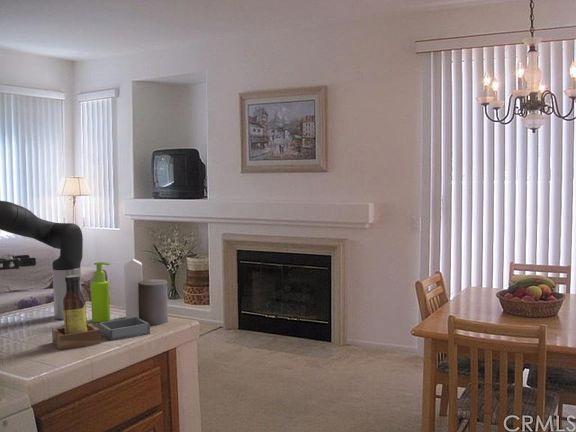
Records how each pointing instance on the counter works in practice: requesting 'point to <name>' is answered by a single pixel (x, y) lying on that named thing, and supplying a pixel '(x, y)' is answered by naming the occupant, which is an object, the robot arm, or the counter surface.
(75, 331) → the sauce bottle
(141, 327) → the tray
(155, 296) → the pillar candle
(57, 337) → the collar
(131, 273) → the milk
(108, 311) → the soap dispenser
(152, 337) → the counter surface
